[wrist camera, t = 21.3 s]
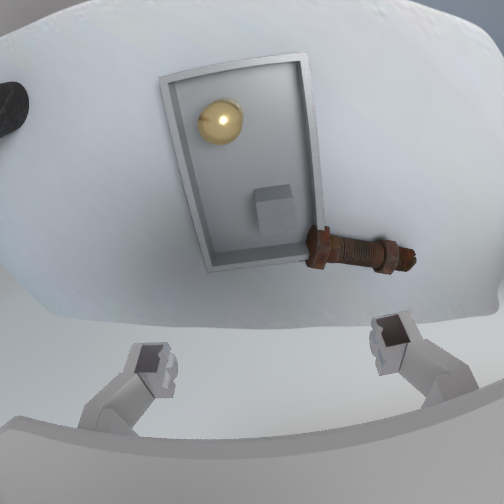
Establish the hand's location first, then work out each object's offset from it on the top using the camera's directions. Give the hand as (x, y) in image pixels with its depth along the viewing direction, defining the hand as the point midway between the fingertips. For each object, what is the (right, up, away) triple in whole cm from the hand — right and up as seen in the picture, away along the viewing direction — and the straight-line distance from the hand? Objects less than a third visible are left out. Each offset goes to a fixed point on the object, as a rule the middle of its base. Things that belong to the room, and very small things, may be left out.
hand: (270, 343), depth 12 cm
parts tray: (-1, +14, +23) cm, 27 cm away
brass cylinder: (-4, +18, +20) cm, 27 cm away
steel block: (+2, +9, +25) cm, 27 cm away
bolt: (+14, +5, +29) cm, 32 cm away
